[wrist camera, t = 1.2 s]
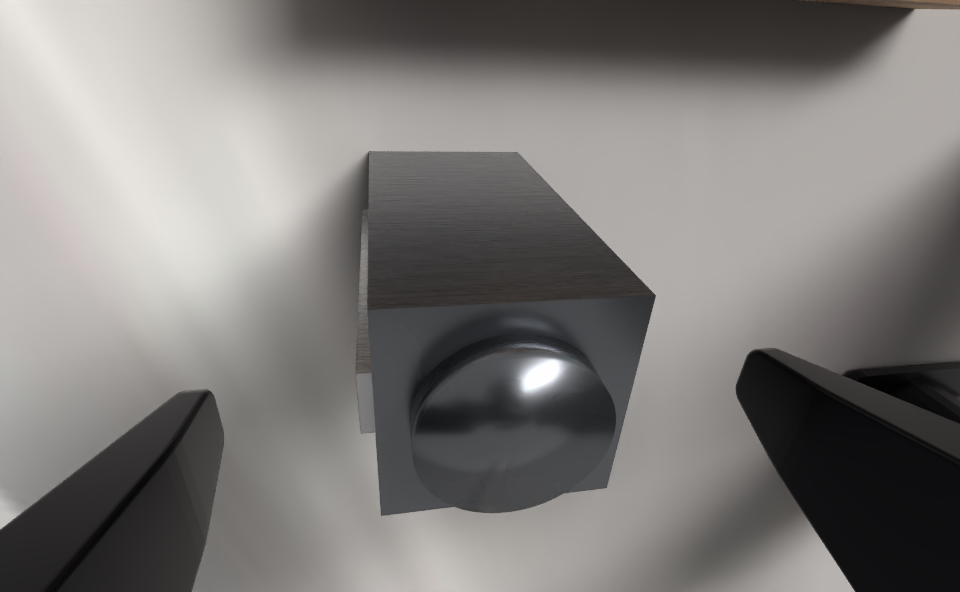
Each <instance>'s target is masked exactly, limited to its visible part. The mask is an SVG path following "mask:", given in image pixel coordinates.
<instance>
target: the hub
mask: <svg viewBox="0 0 960 592" xmlns="http://www.w3.org/2000/svg"><path fill="white" fill-rule="evenodd" d="M799 1H813V2H827V3H842V4H856V5H870V6H885V7H899V8H913V9H960V0H799Z"/></svg>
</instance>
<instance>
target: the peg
mask: <svg viewBox="0 0 960 592" xmlns="http://www.w3.org/2000/svg"><path fill="white" fill-rule="evenodd" d="M655 297H656V295H655V294H654V293H653V292H652V291H651V290H650V289H649V288H648V287H647V286H646V285H645V284H644V283H643V282H642V281H641V280H640V279H639V278H638V277H637V276H636V275H635V273H634V272H633V271H632V270H631V269H630V268H629V267H628V266H627V265H626V264H625V263H624V262H623V261H622V260H621V259H620V258H619V257H618V256H617V255H616V254H615V253H614V252H613V251H612V250H611V249H610V248H609V247H608V246H607V244H606V243H605V242H604V241H603V240H602V239H601V238H600V237H599V236H598V235H597V234H596V233H595V232H594V231H593V230H592V229H591V228H590V227H589V226H588V225H587V224H586V223H585V222H584V221H583V220H582V219H581V218H580V217H579V215H578V214H577V213H576V212H575V211H574V210H573V209H572V208H571V207H570V206H569V205H568V204H567V203H566V202H565V201H564V200H563V199H562V198H561V197H560V196H559V195H558V194H557V193H556V192H555V191H554V190H553V189H552V188H551V186H550V185H549V184H548V183H547V182H546V181H545V180H544V179H543V178H542V177H541V176H540V175H539V174H538V173H537V172H536V171H535V170H534V169H533V168H532V167H531V166H530V165H529V164H528V163H527V162H526V161H525V160H524V159H523V157H522V156H521V155H520V154H519V153H518V152H376V151H369V204H368V209H362V232H361V257H360V281H359V305H358V329H357V354H356V384H357V395H358V406H359V418H360V429H361V433H372V432H376V447H377V461H378V476H379V491H380V506H381V516H383V515H391V514H399V513H408V512H416V511H424V510H432V509H440V508H448V507H457V508H460V509H463V510H468V511H473V512H482V513H501V512H511V511H517V510H522V509H526V508H530V507H533V506H536V505H539V504H542V503H545V502H547V501H549V500H552V499H554V498H556V497H558V496H560V495H561V494H563V493H569V492H578V491H586V490H594V489H602V488H607V484H608V480H609V477H610V473H611V469H612V465H613V461H614V457H615V453H616V449H617V445H618V441H619V437H620V433H621V430H622V426H623V422H624V418H625V414H626V410H627V406H628V402H629V398H630V394H631V390H632V387H633V383H634V379H635V375H636V371H637V367H638V363H639V359H640V355H641V351H642V347H643V343H644V340H645V336H646V332H647V328H648V324H649V320H650V316H651V312H652V308H653V304H654V300H655Z"/></svg>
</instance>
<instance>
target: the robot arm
mask: <svg viewBox="0 0 960 592" xmlns="http://www.w3.org/2000/svg"><path fill="white" fill-rule="evenodd" d="M736 395H737V398H738V400H739V402H740V404H741V406H742V408H743V410H744V412H745V413H746V415H747V417H748V419H749V421H750V423H751V425H752V427H753V429H754V430H755V432H756V434H757V436H758V438H759V440H760V442H761V444H762V445H763V447H764V449H765V451H766V453H767V455H768V457H769V459H770V460H771V462H772V464H773V466H774V468H775V469H776V471H777V473H778V474H779V476H780V478H781V479H782V481H783V482H784V484H785V486H786V487H787V489H788V490H789V492H790V493H791V495H792V496H793V498H794V499H795V501H796V502H797V504H798V505H799V507H800V508H801V510H802V512H803V513H804V515H805V516H806V518H807V519H808V521H809V522H810V524H811V525H812V527H813V528H814V530H815V531H816V533H817V534H818V536H819V537H820V539H821V540H822V542H823V543H824V545H825V547H826V548H827V550H828V551H829V553H830V554H831V556H832V557H833V559H834V560H835V562H836V563H837V565H838V566H839V568H840V569H841V571H842V572H843V574H844V575H845V577H846V578H847V580H848V582H849V583H850V585H851V586H852V588H853V589H854V591H855V592H960V362H948V363H937V364H925V365H913V366H902V367H890V368H879V369H867V370H858V371H854V372H853V373H851V374H849V375H848V376H847V377H844V376H842V375H839V374H837V373H835V372H832V371H830V370H827V369H825V368H822V367H820V366H818V365H815V364H813V363H810V362H808V361H805V360H803V359H801V358H798V357H796V356H793V355H791V354H788V353H786V352H784V351H781V350H779V349H775V348H765V349H755V350H752V351H751V352H750V353H749V354H748V355H747V357H746V360H745V362H744V365H743V368H742V370H741V373H740V376H739V378H738V381H737V384H736ZM223 446H224V431H223V427H222V423H221V419H220V416H219V412H218V408H217V405H216V401H215V397H214V395H213V394H212V392H211V391H209V390H207V389H204V390H190V391H182V392H179V393H177V394H176V395H174V396H173V397H172V398H171V399H169V400H168V401H167V402H165V403H164V404H163V405H161V406H160V407H159V408H158V409H156V410H155V411H154V412H152V413H151V414H150V415H148V416H147V417H146V418H145V419H143V420H142V421H141V422H139V423H138V424H137V425H135V426H134V427H133V428H132V429H130V430H129V431H128V432H126V433H125V434H124V435H122V436H121V437H120V438H119V439H117V440H116V441H115V442H113V443H112V444H111V445H109V446H108V447H107V448H106V449H104V450H103V451H102V452H100V453H99V454H98V455H96V456H95V457H94V458H93V459H91V460H90V461H89V462H87V463H86V464H85V465H83V466H82V467H81V468H80V469H78V470H77V471H76V472H74V473H73V474H72V475H71V476H69V477H68V478H67V479H65V480H64V481H63V482H61V483H60V484H59V485H58V486H56V487H55V488H54V489H52V490H51V491H50V492H48V493H47V494H46V495H45V496H43V497H42V498H41V499H39V500H38V501H37V502H35V503H34V504H33V505H32V506H30V507H29V508H28V509H26V510H25V511H24V512H22V513H21V514H20V515H19V516H17V517H16V518H15V519H13V520H12V521H11V522H9V523H8V524H7V525H6V526H4V527H3V528H2V529H0V592H192V588H193V585H194V582H195V578H196V575H197V572H198V568H199V565H200V562H201V558H202V555H203V551H204V547H205V544H206V539H207V534H208V529H209V524H210V519H211V513H212V507H213V502H214V496H215V491H216V485H217V480H218V474H219V468H220V463H221V457H222V452H223Z"/></svg>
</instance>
